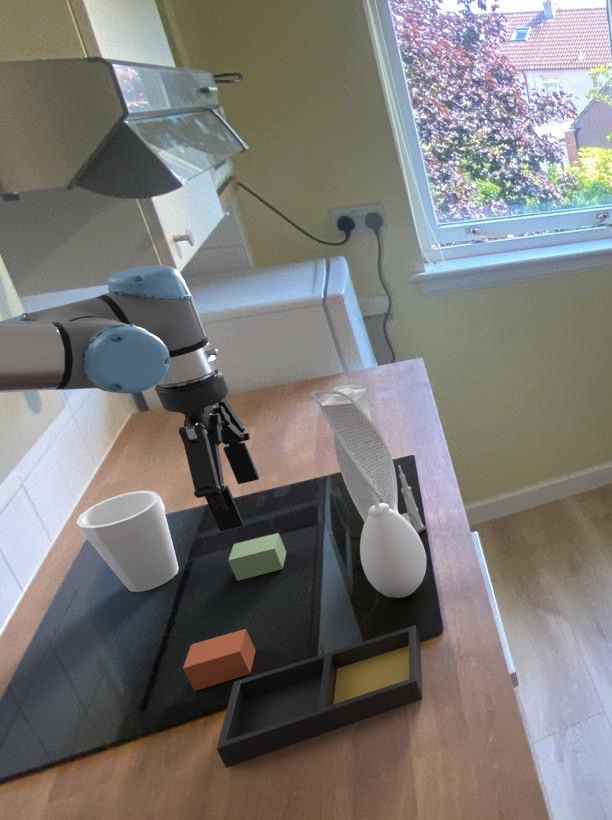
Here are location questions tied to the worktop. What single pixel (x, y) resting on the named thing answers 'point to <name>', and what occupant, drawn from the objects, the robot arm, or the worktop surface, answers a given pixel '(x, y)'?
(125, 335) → the robot arm
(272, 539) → the light green block
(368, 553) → the white tall egg-shaped piece
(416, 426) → the worktop surface
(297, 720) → the divided sorting tray
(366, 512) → the skyscraper
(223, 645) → the terracotta block
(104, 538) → the foam cup
